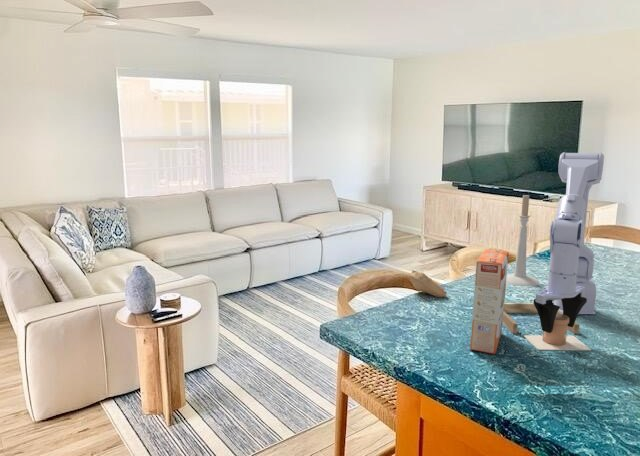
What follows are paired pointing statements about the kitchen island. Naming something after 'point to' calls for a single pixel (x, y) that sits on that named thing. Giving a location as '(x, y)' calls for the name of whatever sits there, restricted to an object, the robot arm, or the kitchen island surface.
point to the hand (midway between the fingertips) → (557, 328)
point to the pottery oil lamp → (426, 284)
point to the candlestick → (522, 252)
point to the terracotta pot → (557, 331)
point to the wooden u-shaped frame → (525, 309)
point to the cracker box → (489, 300)
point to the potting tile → (571, 344)
